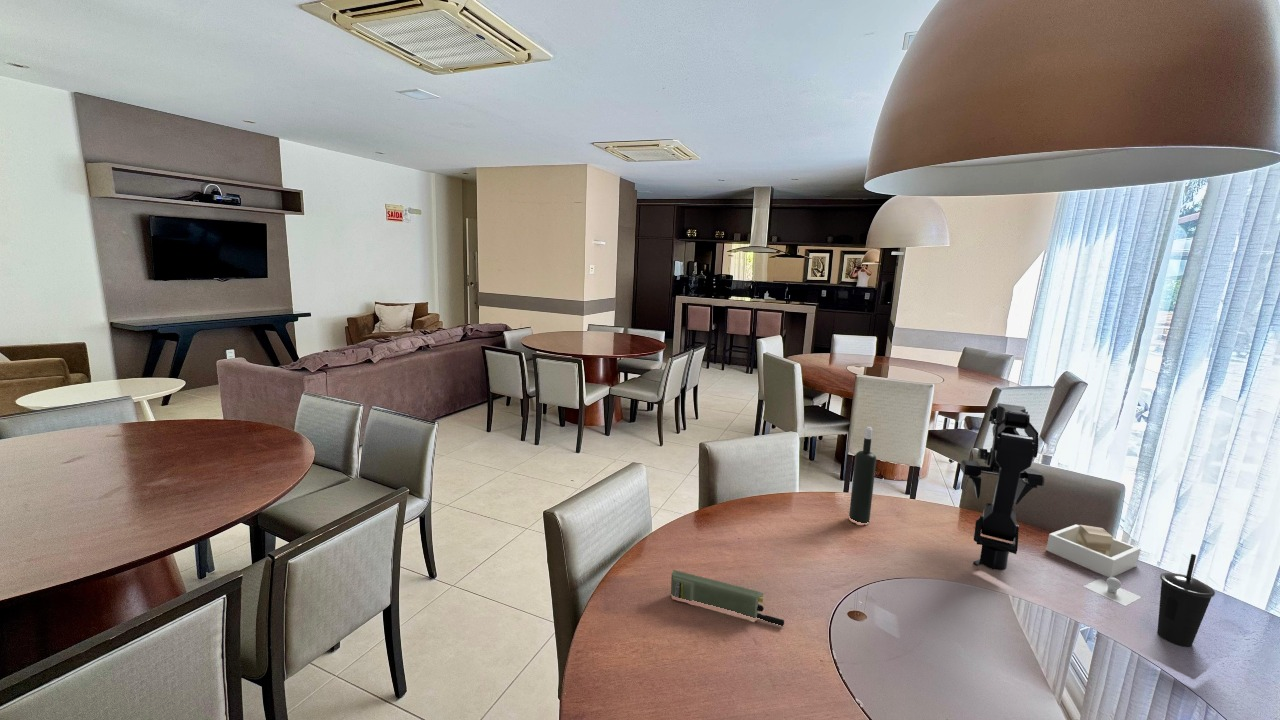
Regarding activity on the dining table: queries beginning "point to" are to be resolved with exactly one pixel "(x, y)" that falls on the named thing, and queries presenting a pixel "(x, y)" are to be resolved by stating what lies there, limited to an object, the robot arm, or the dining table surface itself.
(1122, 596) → the stud plate
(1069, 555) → the white bin
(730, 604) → the handheld radio
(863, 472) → the wine bottle
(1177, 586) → the drinking cup
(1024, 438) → the robot arm
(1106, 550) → the wooden post
